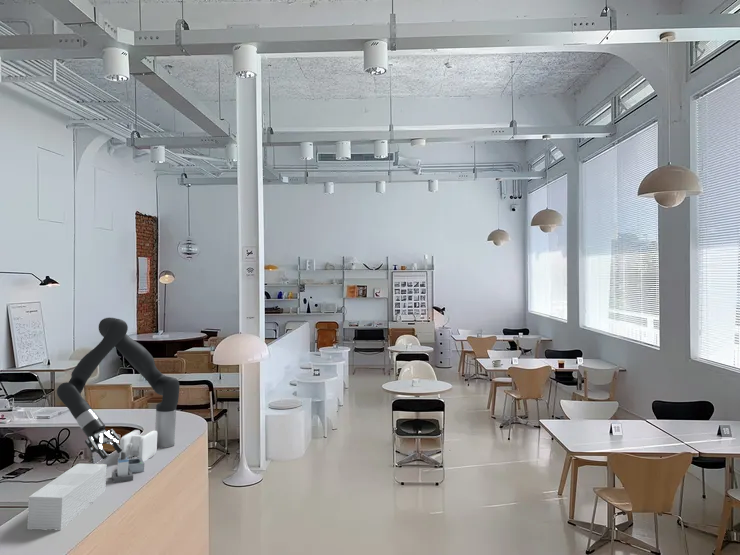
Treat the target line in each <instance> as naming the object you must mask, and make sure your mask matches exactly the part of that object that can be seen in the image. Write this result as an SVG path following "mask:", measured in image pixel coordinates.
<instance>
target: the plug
mask: <svg viewBox="0 0 740 555" xmlns="http://www.w3.org/2000/svg"><path fill="white" fill-rule="evenodd" d="M128 464H129V459H128V457H126V452H121V458H120V457H117V467H116V468H117V469H116V472H117V477H120V476H127V475H128Z"/></svg>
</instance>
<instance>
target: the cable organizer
mask: <svg viewBox="0 0 740 555" xmlns="http://www.w3.org/2000/svg"><path fill="white" fill-rule="evenodd" d="M119 445H120V446H121V447H122V451H121V452H126V457H128V459H133V458H134V457H136V458H142V460H143V462H144V463H145V462H146V461H147V460H149V459H151V458H153V457H154V456H155V455H156V454H157V448H158V447H157V431H155V430H151V431H150V432H148V433H146V434H145V435H141V431H140V429H134V430H132V431H131V432H129V433H126V434H124V435H122V437H120V440H119ZM121 452H120V453H119V458H121ZM133 456H134V457H133Z"/></svg>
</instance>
